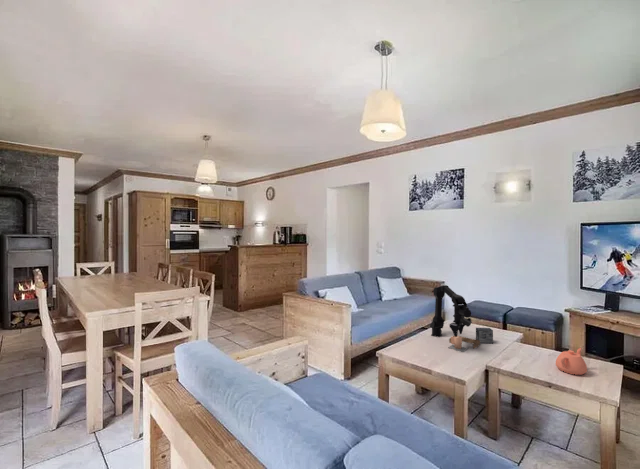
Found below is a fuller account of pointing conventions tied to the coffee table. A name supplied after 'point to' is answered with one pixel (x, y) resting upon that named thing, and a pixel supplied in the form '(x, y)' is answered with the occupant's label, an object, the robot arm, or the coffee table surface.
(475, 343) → the holder
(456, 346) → the popsicle on stick
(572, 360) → the orange rounded lump
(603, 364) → the coffee table surface
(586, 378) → the coffee table surface
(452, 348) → the mat
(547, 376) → the coffee table surface
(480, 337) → the small box
